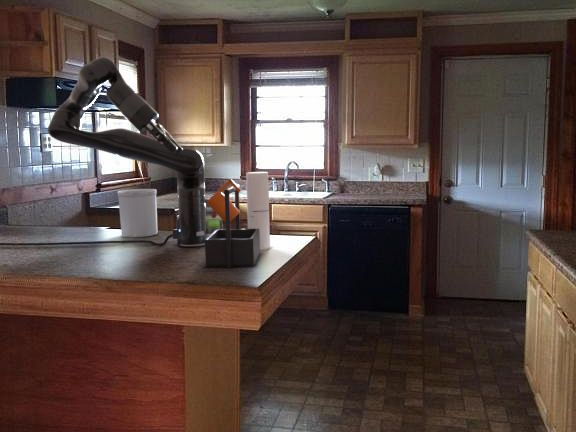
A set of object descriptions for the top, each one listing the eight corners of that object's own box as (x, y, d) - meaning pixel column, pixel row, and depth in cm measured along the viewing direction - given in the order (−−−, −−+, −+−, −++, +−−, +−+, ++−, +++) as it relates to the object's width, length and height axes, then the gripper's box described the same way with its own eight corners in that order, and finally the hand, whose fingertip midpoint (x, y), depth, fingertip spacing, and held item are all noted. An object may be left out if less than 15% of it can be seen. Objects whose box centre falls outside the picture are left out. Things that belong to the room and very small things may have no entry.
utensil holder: (139, 238, 240) (137, 192, 238) (111, 236, 248) (109, 191, 246) (166, 233, 252) (164, 189, 250) (139, 231, 260) (137, 188, 258)
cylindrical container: (267, 250, 207) (265, 172, 204) (245, 249, 208) (243, 173, 205) (272, 246, 214) (270, 171, 211) (251, 246, 215) (249, 172, 212)
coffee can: (227, 234, 245) (226, 198, 243) (201, 236, 240) (200, 199, 239) (217, 231, 254) (216, 196, 253) (192, 233, 249) (191, 197, 248)
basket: (205, 268, 178) (201, 189, 176) (217, 253, 202) (215, 184, 200) (253, 267, 178) (251, 188, 175) (260, 252, 202) (258, 183, 199)
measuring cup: (226, 225, 186) (204, 203, 186) (228, 223, 192) (207, 201, 191) (250, 202, 185) (229, 179, 185) (252, 200, 190) (231, 178, 190)
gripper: (135, 123, 194) (173, 161, 195) (123, 118, 180) (164, 159, 181) (152, 105, 194) (190, 143, 195) (141, 99, 180) (182, 140, 180)
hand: (177, 151), depth 188 cm, fingers open, 8 cm apart
